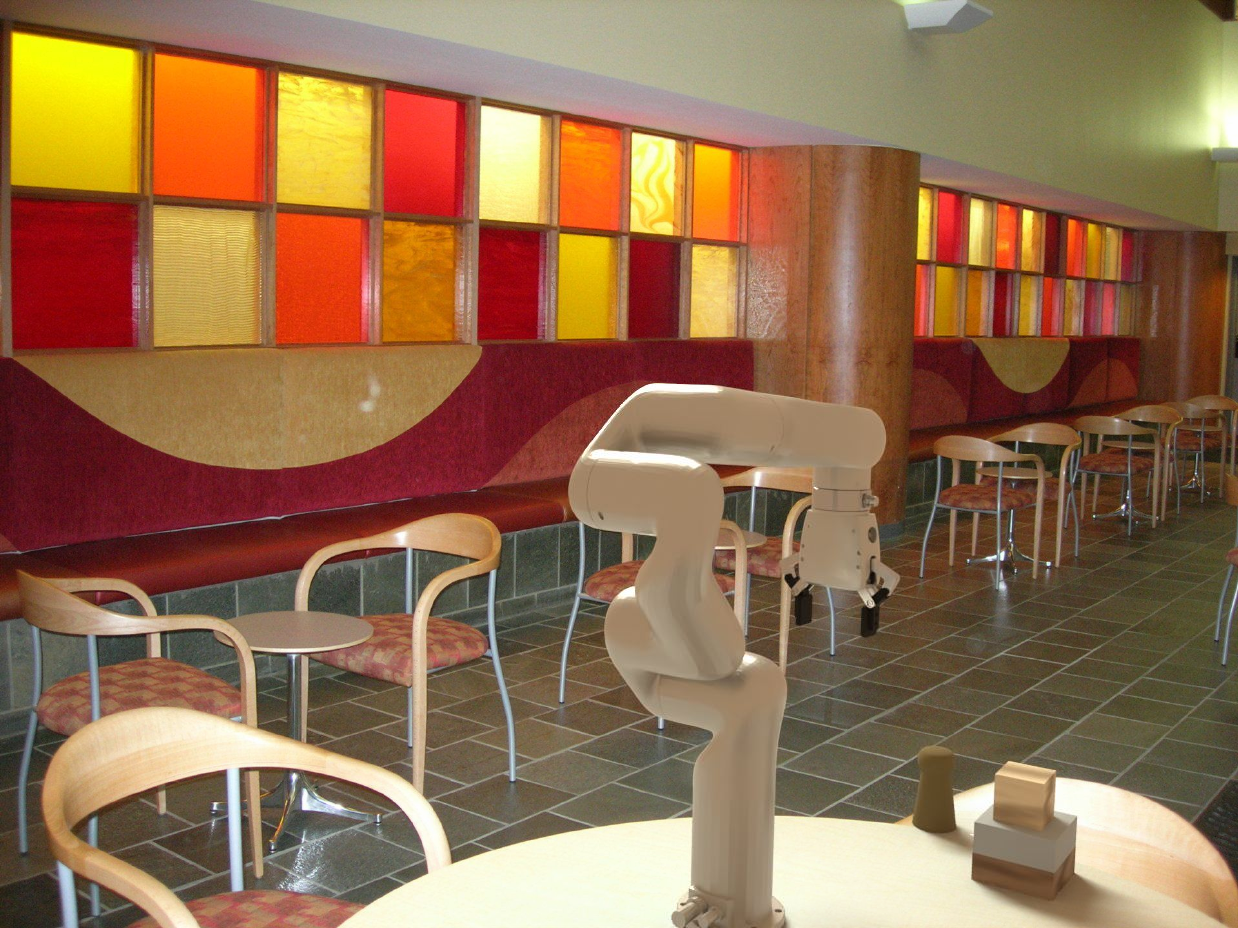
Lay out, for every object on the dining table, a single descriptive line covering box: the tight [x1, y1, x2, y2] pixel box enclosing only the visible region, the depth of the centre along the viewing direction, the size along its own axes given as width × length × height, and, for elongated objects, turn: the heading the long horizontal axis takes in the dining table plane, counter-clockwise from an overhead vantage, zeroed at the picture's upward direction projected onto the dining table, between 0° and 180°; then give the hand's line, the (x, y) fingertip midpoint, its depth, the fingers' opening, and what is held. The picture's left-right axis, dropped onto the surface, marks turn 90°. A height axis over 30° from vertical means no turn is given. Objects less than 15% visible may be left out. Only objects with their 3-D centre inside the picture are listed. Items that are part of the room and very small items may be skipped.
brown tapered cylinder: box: [911, 745, 957, 834], centre depth 168 cm, size 6×6×11 cm
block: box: [993, 760, 1057, 831], centre depth 151 cm, size 6×6×6 cm
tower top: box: [972, 803, 1078, 873], centre depth 152 cm, size 10×10×4 cm
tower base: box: [970, 845, 1077, 902], centre depth 152 cm, size 10×10×4 cm
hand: (835, 629), depth 158 cm, fingers open, 9 cm apart
